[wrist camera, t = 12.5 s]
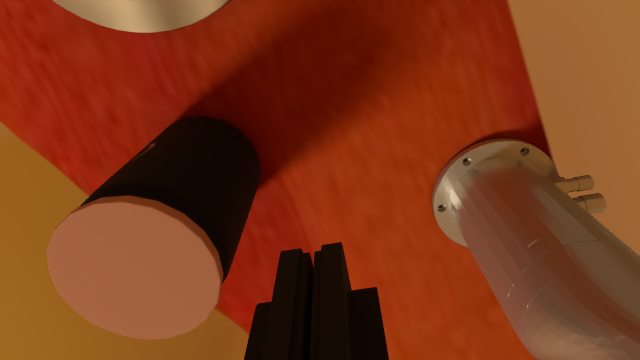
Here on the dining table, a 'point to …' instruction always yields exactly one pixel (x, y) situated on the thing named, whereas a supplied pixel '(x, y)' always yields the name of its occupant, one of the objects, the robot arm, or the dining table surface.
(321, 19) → the dining table surface
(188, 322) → the coffee jar
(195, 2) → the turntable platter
